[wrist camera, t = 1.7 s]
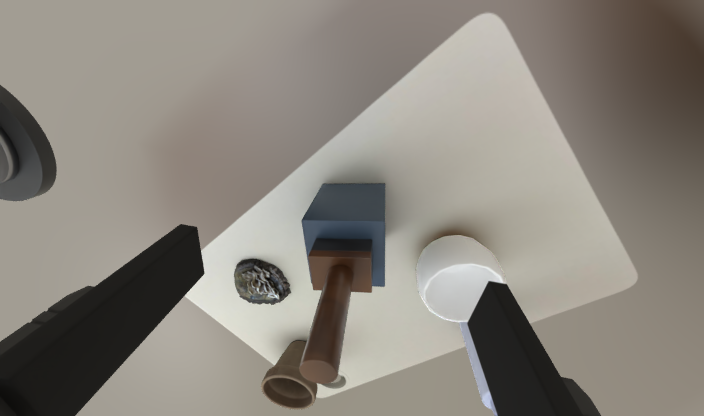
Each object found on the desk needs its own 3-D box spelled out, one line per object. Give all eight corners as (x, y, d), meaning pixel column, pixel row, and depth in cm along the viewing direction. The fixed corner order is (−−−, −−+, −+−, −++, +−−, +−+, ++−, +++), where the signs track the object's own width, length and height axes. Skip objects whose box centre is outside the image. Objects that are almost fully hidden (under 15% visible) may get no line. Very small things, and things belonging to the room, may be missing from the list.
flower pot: (268, 340, 62) (248, 385, 53) (304, 326, 58) (290, 371, 49) (298, 368, 66) (285, 414, 57) (334, 356, 62) (326, 404, 53)
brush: (320, 269, 34) (280, 387, 21) (315, 237, 32) (268, 347, 19) (373, 271, 34) (364, 395, 21) (372, 239, 31) (362, 355, 18)
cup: (408, 277, 49) (413, 320, 40) (417, 219, 43) (424, 255, 34) (477, 283, 47) (498, 329, 39) (495, 224, 42) (523, 263, 33)
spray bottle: (464, 327, 53) (511, 475, 33) (451, 308, 51) (491, 453, 31) (494, 317, 50) (562, 469, 31) (481, 297, 49) (545, 445, 29)
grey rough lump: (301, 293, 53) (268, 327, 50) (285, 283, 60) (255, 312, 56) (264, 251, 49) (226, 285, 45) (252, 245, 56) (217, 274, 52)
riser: (328, 236, 46) (311, 283, 36) (322, 183, 42) (301, 220, 31) (384, 237, 45) (384, 286, 35) (385, 183, 41) (385, 221, 30)
